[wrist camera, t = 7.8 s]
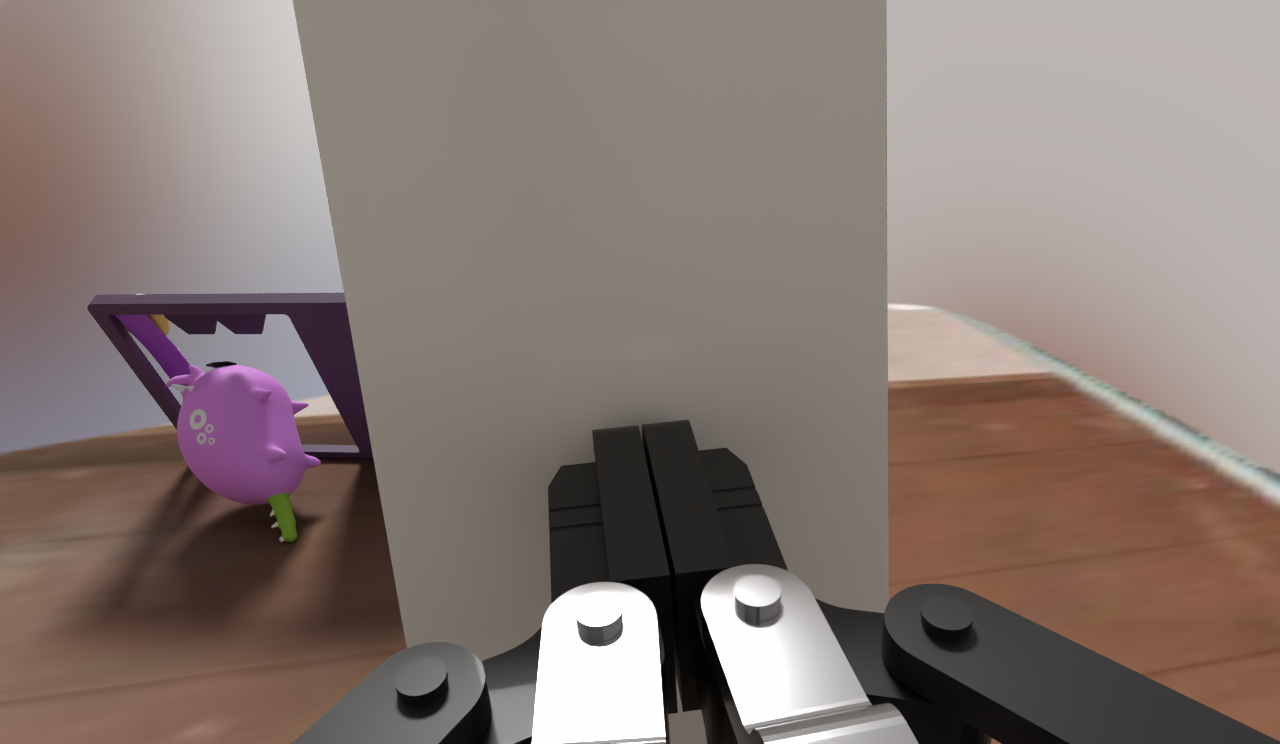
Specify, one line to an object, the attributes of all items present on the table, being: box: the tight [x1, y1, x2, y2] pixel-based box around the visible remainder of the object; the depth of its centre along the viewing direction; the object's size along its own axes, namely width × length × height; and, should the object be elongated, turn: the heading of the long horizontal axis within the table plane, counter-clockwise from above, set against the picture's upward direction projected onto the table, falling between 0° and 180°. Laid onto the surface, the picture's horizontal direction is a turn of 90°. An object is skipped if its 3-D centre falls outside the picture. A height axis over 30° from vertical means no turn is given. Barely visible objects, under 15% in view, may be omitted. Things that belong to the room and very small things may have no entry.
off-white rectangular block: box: [293, 0, 888, 744], centre depth 15 cm, size 8×3×14 cm, turn 96°
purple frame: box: [88, 293, 373, 542], centre depth 25 cm, size 7×5×9 cm
